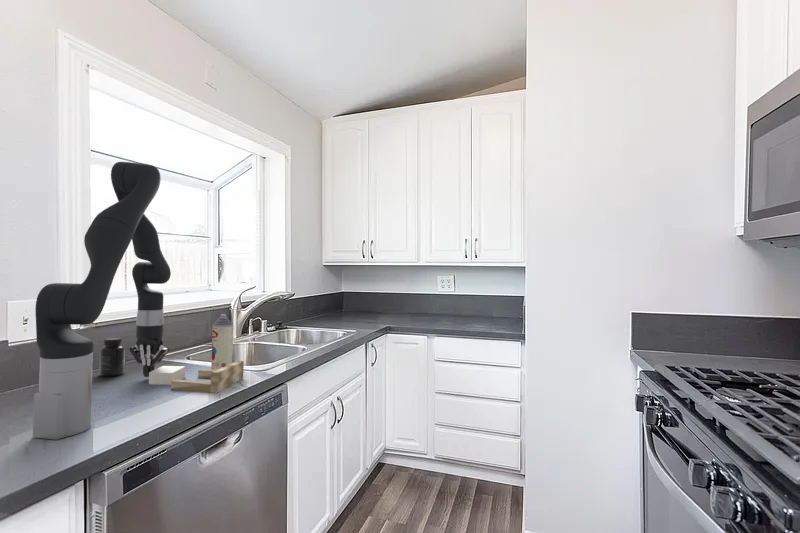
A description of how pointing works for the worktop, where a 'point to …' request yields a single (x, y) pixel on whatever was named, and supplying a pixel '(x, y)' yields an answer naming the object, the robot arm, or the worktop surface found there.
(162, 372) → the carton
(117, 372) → the supplement bottle
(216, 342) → the aerosol can
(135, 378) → the worktop surface
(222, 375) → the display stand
